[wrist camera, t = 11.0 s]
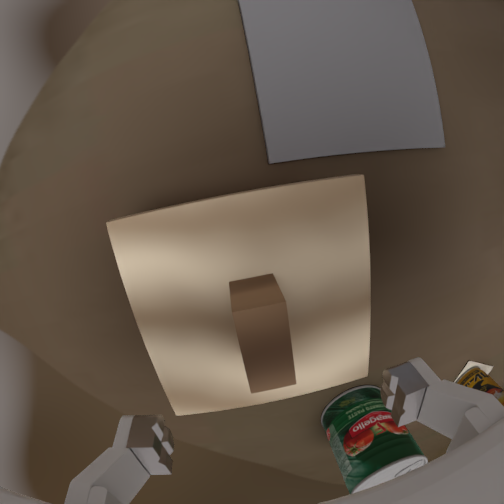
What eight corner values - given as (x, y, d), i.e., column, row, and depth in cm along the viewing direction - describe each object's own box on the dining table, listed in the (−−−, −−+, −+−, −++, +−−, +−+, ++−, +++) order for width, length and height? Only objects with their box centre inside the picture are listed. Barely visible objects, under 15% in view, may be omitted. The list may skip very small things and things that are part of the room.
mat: (233, -20, 17) (234, -24, 16) (404, -9, 17) (407, -11, 17) (268, 163, 22) (269, 163, 21) (441, 147, 22) (445, 147, 22)
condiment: (468, 360, 31) (520, 412, 19) (492, 365, 33) (538, 409, 21) (437, 402, 33) (481, 458, 21) (466, 403, 34) (505, 450, 23)
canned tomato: (336, 439, 32) (365, 508, 21) (308, 411, 29) (338, 493, 19) (391, 406, 31) (432, 469, 20) (372, 372, 29) (421, 446, 18)
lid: (110, 219, 16) (79, 239, 12) (357, 174, 16) (397, 180, 12) (177, 408, 20) (172, 452, 16) (363, 369, 21) (387, 407, 16)
